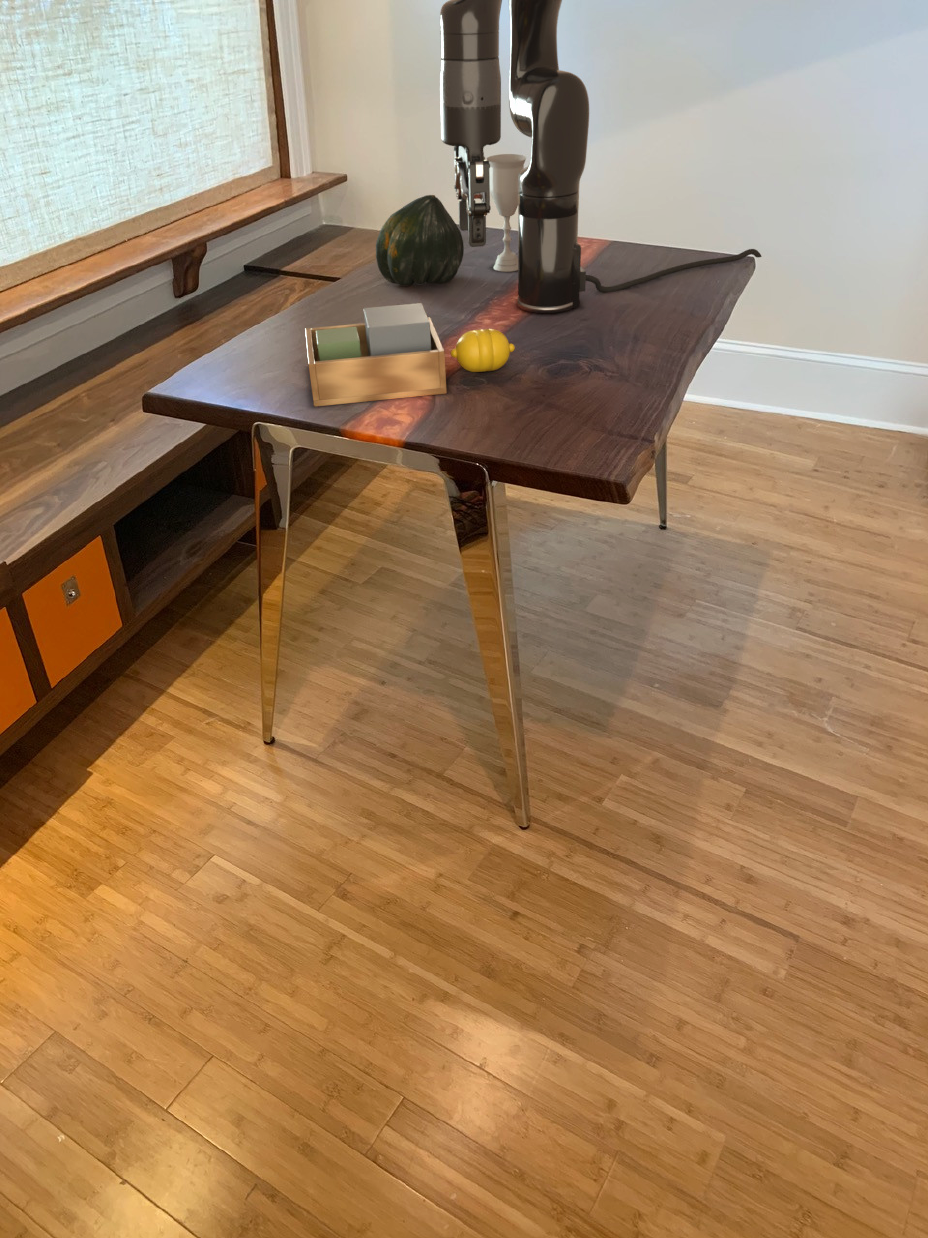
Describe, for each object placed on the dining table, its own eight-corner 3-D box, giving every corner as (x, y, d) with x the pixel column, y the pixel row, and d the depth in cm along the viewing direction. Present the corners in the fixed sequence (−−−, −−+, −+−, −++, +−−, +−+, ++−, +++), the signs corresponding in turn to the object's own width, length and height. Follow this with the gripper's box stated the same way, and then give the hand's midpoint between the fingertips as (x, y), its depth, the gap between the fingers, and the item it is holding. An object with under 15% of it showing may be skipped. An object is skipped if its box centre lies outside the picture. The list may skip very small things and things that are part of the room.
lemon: (510, 359, 135) (510, 320, 132) (518, 374, 131) (518, 334, 127) (448, 365, 134) (446, 326, 131) (454, 380, 130) (452, 340, 126)
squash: (352, 246, 166) (380, 185, 153) (422, 233, 173) (455, 174, 160) (389, 315, 164) (420, 260, 151) (458, 299, 172) (493, 245, 159)
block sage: (360, 368, 132) (356, 326, 129) (363, 383, 128) (359, 340, 124) (321, 372, 132) (315, 330, 128) (323, 387, 127) (317, 344, 124)
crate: (432, 356, 137) (430, 316, 134) (446, 393, 126) (444, 351, 123) (310, 368, 135) (305, 328, 132) (314, 406, 124) (308, 364, 121)
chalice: (526, 272, 168) (527, 161, 157) (488, 273, 168) (486, 163, 158) (525, 260, 174) (525, 153, 163) (488, 261, 174) (486, 154, 163)
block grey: (425, 359, 134) (421, 302, 130) (433, 380, 128) (429, 321, 123) (368, 364, 133) (363, 307, 129) (374, 386, 127) (368, 327, 122)
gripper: (511, 106, 112) (509, 250, 121) (490, 91, 123) (490, 223, 132) (447, 109, 111) (451, 253, 120) (433, 93, 122) (437, 226, 132)
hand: (472, 237), depth 126 cm, fingers open, 8 cm apart
